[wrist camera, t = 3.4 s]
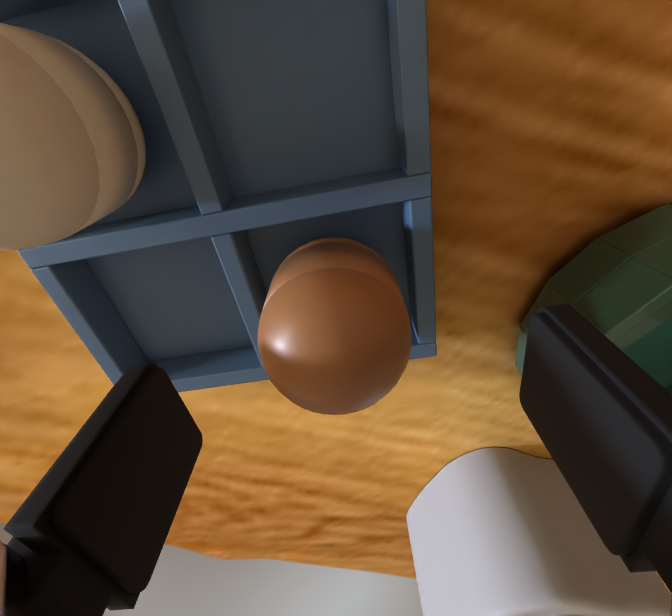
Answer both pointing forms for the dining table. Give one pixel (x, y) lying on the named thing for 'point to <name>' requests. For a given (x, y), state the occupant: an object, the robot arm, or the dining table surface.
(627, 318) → the bowl
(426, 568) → the lumpy-topped squat cylinder
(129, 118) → the cream egg
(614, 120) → the dining table surface
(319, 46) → the egg tray
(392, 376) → the brown egg
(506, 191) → the dining table surface
